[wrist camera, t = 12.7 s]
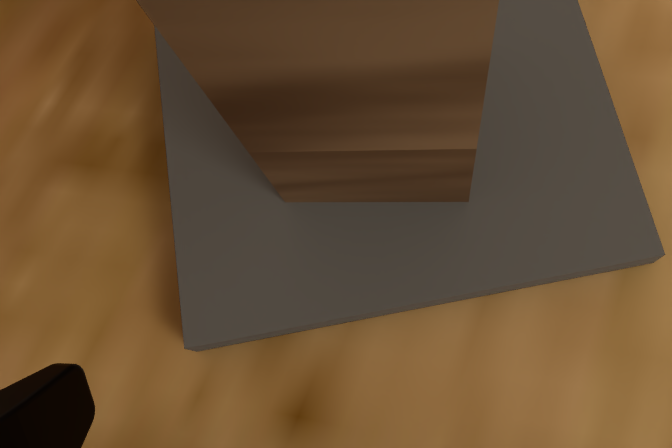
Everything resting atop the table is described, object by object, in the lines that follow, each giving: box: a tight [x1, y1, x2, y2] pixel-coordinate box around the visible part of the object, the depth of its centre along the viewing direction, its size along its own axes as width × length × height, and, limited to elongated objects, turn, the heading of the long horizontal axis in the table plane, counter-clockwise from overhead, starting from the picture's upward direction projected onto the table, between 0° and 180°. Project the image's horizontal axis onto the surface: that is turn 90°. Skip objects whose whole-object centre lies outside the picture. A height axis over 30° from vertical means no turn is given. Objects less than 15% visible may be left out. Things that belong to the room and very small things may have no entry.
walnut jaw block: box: [136, 0, 499, 202], centre depth 14 cm, size 6×6×12 cm
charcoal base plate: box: [154, 0, 665, 351], centre depth 20 cm, size 14×12×1 cm
